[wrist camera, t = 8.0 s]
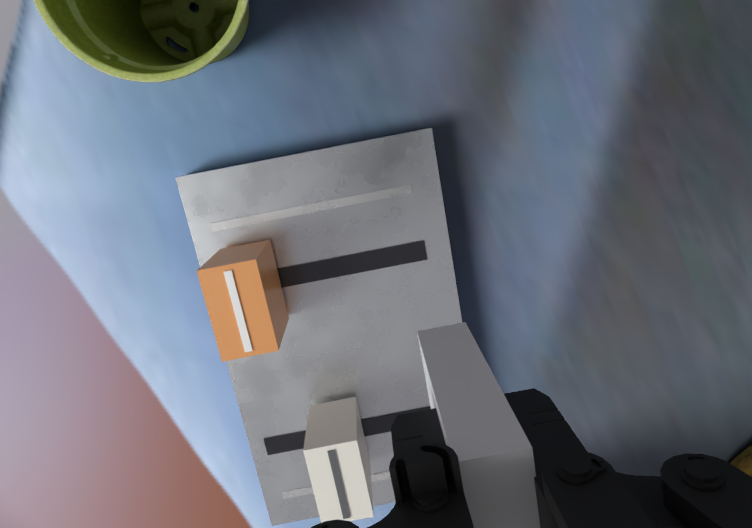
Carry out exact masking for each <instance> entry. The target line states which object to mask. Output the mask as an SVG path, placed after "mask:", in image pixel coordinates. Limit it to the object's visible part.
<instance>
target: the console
mask: <svg viewBox="0 0 752 528" xmlns="http://www.w3.org/2000/svg"><path fill="white" fill-rule="evenodd" d="M176 181H177V185H178V189H179V192H180V196H181V199H182V203H183V207H184V210H185V214H186V217H187V221H188V225H189V228H190V232H191V236H192V239H193V243H194V246H195V250H196V254H197V257H198V261H199V264H200V267H201V266H202V265H203V264H204V263H206V262H207V261H208V260H209V259H210V258H211V257H212V256H213V255H214V254H215V253H216V252H217V251H218V250H220V249H223V248H228V247H234V246H239V245H244V244H249V243H254V242H259V241H265V240H270V241H271V245H272V250H273V254H274V258H275V262H276V266H277V270H278V274H279V279H280V283H281V287H282V291H283V295H284V299H285V303H286V308H287V312H288V316H289V320H288V323H287V326H286V329H285V333H284V336H283V339H282V342H281V345H280V348H279V351H275V352H270V353H264V354H259V355H254V356H249V357H244V358H239V359H233V360H228V361H226V362H227V365H228V369H229V372H230V376H231V380H232V383H233V387H234V390H235V394H236V398H237V401H238V405H239V409H240V412H241V416H242V419H243V423H244V427H245V430H246V434H247V437H248V441H249V445H250V448H251V452H252V455H253V459H254V463H255V466H256V470H257V473H258V477H259V481H260V484H261V488H262V491H263V495H264V499H265V502H266V506H267V509H268V513H269V517H270V520H271V524H272V526H273V525H278V524H284V523H289V522H294V521H299V520H304V519H309V518H315V517H320V516H319V512H318V508H317V504H316V500H315V496H314V492H313V488H312V484H311V480H310V476H309V472H308V468H307V464H306V460H305V456H304V452H303V448H304V441H305V434H306V427H307V420H308V413H309V407H310V405H316V404H321V403H326V402H331V401H336V400H341V399H347V398H352V397H356V400H357V404H358V409H359V414H360V418H361V423H362V427H363V432H364V437H365V441H366V446H367V451H368V455H369V460H370V465H371V481H372V497H373V506H376V505H382V504H387V503H392V502H396V501H395V496H394V491H393V486H392V482H391V477H390V472H389V466H390V461H391V459H392V458H393V457H394V453H393V445H392V436H391V426H392V424H393V422H394V421H395V419H396V417H397V415H401V414H406V413H411V412H417V411H422V410H428V409H431V407H430V401H429V396H428V390H427V384H426V379H425V373H424V368H423V362H422V357H421V351H420V345H419V340H418V334H417V331H420V330H426V329H431V328H436V327H442V326H447V325H452V324H458V323H462V318H461V311H460V305H459V299H458V292H457V286H456V279H455V273H454V267H453V260H452V254H451V248H450V241H449V235H448V228H447V222H446V216H445V209H444V203H443V197H442V190H441V184H440V177H439V171H438V165H437V158H436V152H435V146H434V139H433V133H432V128H425V129H420V130H414V131H409V132H404V133H399V134H394V135H389V136H383V137H378V138H373V139H368V140H363V141H358V142H352V143H347V144H342V145H337V146H332V147H327V148H321V149H316V150H311V151H306V152H301V153H296V154H290V155H285V156H280V157H275V158H270V159H265V160H259V161H254V162H249V163H244V164H239V165H234V166H228V167H223V168H218V169H213V170H208V171H203V172H197V173H192V174H187V175H183V176H179V177H176Z"/></svg>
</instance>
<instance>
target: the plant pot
mask: <svg viewBox="0 0 752 528" xmlns="http://www.w3.org/2000/svg"><path fill="white" fill-rule="evenodd" d="M193 2H194V3H196V4H197V5H198V7H199V9H198V12H192V11H191V10H190V8H189V5H190V4H191V3H193ZM34 3H35V5H36V7H37V9H38V11H39V13H40V15H41V16H42V18H43V20H44V21H45V23H46V24H47V26H48V27H49V29H50V30H51V31H52V33H53V34H54V35H55V36H56V38H57V39H58V40H59V41H60V42H61V43H62V44H63V45H64V46H65V47H66V48H67V49H68V50H69V51H71V52H72V53H73V54H74V55H75V56H77V57H78V58H79V59H81V60H82V61H84V62H85V63H87V64H88V65H90V66H92V67H94V68H96V69H97V70H99V71H101V72H104V73H106V74H108V75H111V76H114V77H118V78H121V79H125V80H130V81H138V82H164V81H170V80H175V79H179V78H182V77H185V76H188V75H190V74H192V73H195V72H197V71H198V70H200V69H202V68H204V67H205V66H207V65H208V64H211V63H214V62H217V61H219V60H222V59H224V58H225V57H227V56H228V55H230V54H231V53H232V52H233V51H234V50H235V49H236V48H237V46H238V45H239V44H240V42H241V41H242V39H243V37H244V35H245V32H246V29H247V26H248V21H249V0H34ZM167 37H169V38H170V39H172V40H173V41H174V42H176V43H177V44H179V45H180V46H182V47H184V48H186V49H187V50H188V52H185V53H182V52H180V51H178V50H176V49H174V48H173V47H171V46H170V45H169V44H168V43H167V41H166V38H167Z"/></svg>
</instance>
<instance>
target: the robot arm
mask: <svg viewBox="0 0 752 528" xmlns="http://www.w3.org/2000/svg"><path fill="white" fill-rule="evenodd" d="M417 334H418V340H419V345H420V351H421V357H422V362H423V368H424V373H425V379H426V384H427V390H428V396H429V401H430V407H431V409H428V410H422V411H417V412H411V413H406V414H401V415H397V417H396V419H395V421H394V422H393V424H392V426H391V436H392V445H393V453H394V457H393V458H392V459H391V461H390V466H389V472H390V477H391V482H392V486H393V491H394V496H395V501H396V504H395V506H394V508H393V509H392V510H391V512H390V513H389V514H388V515H387V516H386V517H385V518H383V519H382V520H381V521H379V522H377V523H376V524H374V525H372V526H370V527H368V528H752V477H751V476H749V475H748V474H746V473H745V472H743V471H741V470H740V469H738V468H737V467H735V466H733V465H732V464H730V463H727V462H725V461H723V460H721V459H719V458H716V457H712V456H707V455H703V454H683V455H678V456H673V457H672V458H670V459H668V460H667V461H665V462H664V463H663V465H662V468H661V470H660V474H661V477H655V476H635V475H626V474H621V473H618V472H615V470H614V469H613V468H612V466H611V465H610V464H609V463H608V462H606V461H605V460H604V459H603V458H601V457H599V456H596V455H594V454H592V453H588V452H587V451H586V449H585V448H584V446H583V445H582V444H581V442H580V441H579V439H578V438H577V436H576V435H575V433H574V432H573V430H572V429H571V428H570V426H569V425H568V423H567V422H566V421H565V420H564V417H563V416H562V415H561V413H560V412H559V411H558V409H557V407H556V406H555V404H554V403H553V402H552V400H551V399H550V397H548V396H547V395H545V394H543V393H541V392H540V391H538V390H536V389H534V388H533V389H528V390H523V391H517V392H512V393H506V394H503V392H502V390H501V388H500V386H499V384H498V382H497V380H496V379H495V377H494V375H493V373H492V371H491V369H490V367H489V365H488V364H487V362H486V360H485V358H484V356H483V354H482V352H481V350H480V349H479V347H478V345H477V343H476V341H475V339H474V337H473V335H472V334H471V332H470V330H469V328H468V326H467V324H466V322H463V323H458V324H452V325H447V326H442V327H436V328H431V329H426V330H420V331H417ZM311 528H359V527H358V526H356V525H355V524H353V523H352V522H350V521H345V520H338V519H337V520H330V521H324V522H322V523H320V524H317V525H315V526H313V527H311Z"/></svg>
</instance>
